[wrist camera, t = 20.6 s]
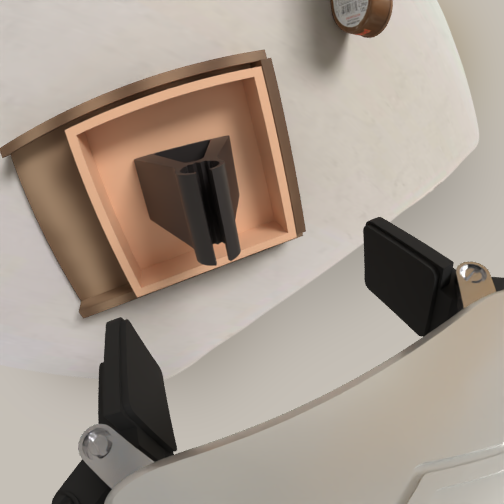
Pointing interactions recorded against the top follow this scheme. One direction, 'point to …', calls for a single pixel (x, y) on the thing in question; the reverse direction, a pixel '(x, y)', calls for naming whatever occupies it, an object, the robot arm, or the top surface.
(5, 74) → the top surface
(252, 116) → the orange shallow box
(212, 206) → the phone stand
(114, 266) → the tray
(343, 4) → the tin
